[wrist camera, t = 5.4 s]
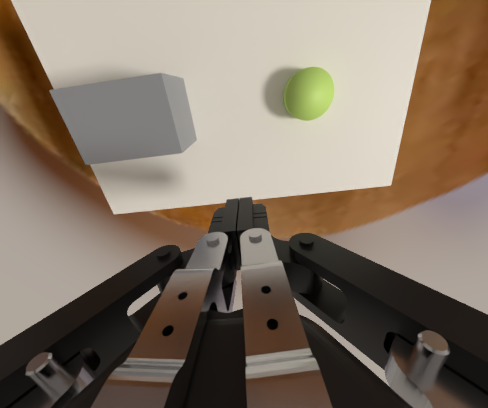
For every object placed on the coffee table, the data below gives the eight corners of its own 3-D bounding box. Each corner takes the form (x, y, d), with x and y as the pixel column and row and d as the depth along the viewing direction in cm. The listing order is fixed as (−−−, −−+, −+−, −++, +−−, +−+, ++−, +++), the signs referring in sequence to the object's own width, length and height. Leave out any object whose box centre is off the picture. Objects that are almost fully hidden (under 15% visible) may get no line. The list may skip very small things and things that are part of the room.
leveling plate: (45, 7, 14) (-95, -54, 8) (414, -62, 12) (560, -199, 7) (128, 201, 21) (82, 242, 15) (374, 174, 19) (428, 209, 14)
